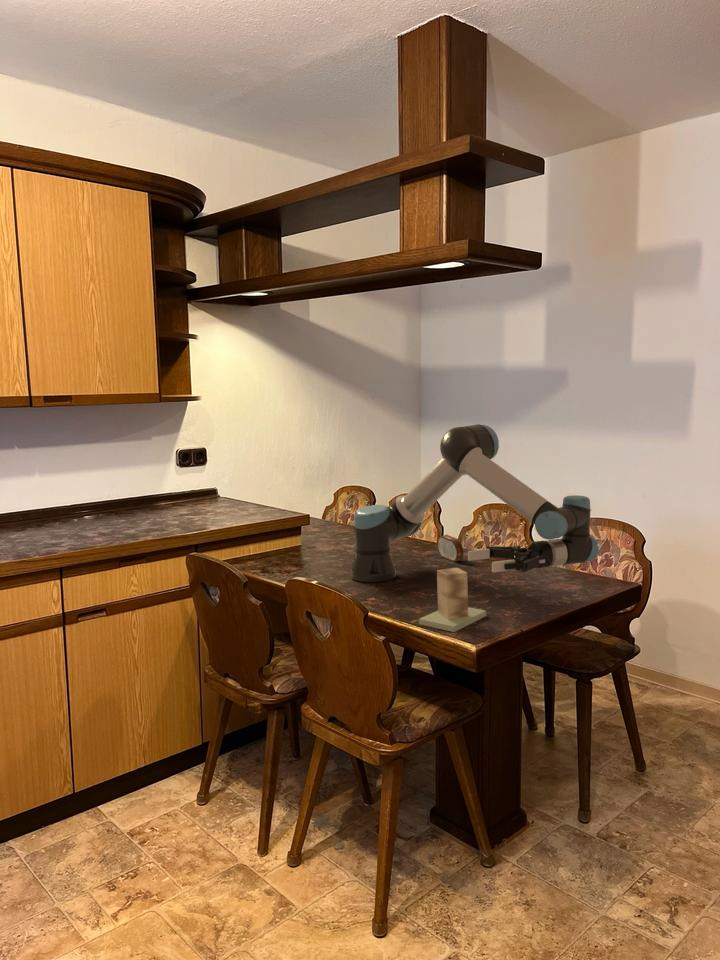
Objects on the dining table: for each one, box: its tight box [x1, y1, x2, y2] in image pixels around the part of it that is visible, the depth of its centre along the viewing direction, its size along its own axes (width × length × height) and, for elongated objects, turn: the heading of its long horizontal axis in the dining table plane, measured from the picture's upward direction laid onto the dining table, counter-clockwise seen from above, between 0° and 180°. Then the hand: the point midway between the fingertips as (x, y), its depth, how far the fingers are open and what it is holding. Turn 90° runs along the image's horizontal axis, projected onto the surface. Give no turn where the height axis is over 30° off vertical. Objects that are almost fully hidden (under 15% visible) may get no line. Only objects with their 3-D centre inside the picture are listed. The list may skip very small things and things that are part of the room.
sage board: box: [418, 606, 487, 633], centre depth 197 cm, size 16×11×2 cm
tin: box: [437, 534, 464, 563], centre depth 265 cm, size 15×3×8 cm, turn 22°
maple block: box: [436, 567, 469, 619], centre depth 197 cm, size 6×6×12 cm
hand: (479, 561), depth 200 cm, fingers open, 13 cm apart
